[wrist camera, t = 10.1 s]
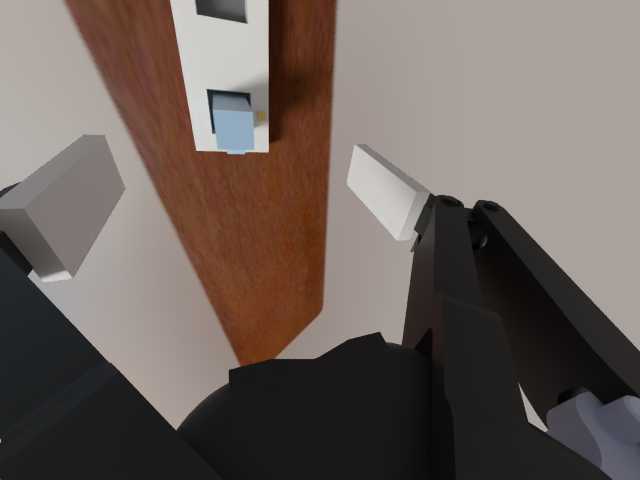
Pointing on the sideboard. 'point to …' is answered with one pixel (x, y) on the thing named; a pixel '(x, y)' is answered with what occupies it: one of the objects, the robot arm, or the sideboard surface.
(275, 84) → the sideboard surface
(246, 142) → the plug
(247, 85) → the panel
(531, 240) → the robot arm
